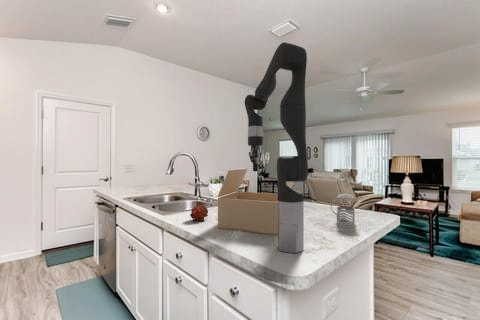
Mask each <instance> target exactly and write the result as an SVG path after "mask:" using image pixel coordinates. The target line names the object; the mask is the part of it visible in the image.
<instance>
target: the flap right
mask: <svg viewBox="0 0 480 320" xmlns="http://www.w3.org/2000/svg"><path fill="white" fill-rule="evenodd" d="M294 183H295V182H289V181H288V182H286V184H287V186H289V187H290V188H292V187H293V185H294ZM292 189H293V188H292ZM277 201H278V200H277Z"/></svg>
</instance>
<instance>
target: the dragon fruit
mask: <svg viewBox="0 0 480 320" xmlns="http://www.w3.org/2000/svg"><path fill="white" fill-rule="evenodd" d="M190 211H191V212H190V213H189V214H190V215H189V216H190V218H191V219H192V221H193V222H198V221H199V220H200V221H201V222H202V221H203V220H205V218H206V217H207V218H208V216H209V214H208V213H209V211H208V208H207V207H206V205H203V206H202V205H201V204H198V206H197V205H195V206H194V208H192V209H191V210H190Z"/></svg>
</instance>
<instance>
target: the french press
mask: <svg viewBox="0 0 480 320" xmlns="http://www.w3.org/2000/svg"><path fill="white" fill-rule="evenodd" d="M348 176H349V174H348V173H344V174H343V177H345V182H344V183H345V185H344V186H345V191H344V192H345V193H340V194H338V195H337V196H336V198H337V199H333V200H332V201H331V204H330V208H331V209H330V210H331V212H332V213H333V214H334V215H336V222H335V223H334V225H335V226H336V227H338V228H343V229H344V228H345V229H355V228H357V227H358V226H357V224H356V223H355V215H356V214H355V206H354V205H353V204H349V203H347V200H354V199H355V198H356V197H355V196H354V195H352V194H349V193H347V191H346V190H347V177H348ZM338 199H343V200H345V203H338V202H339V201H338ZM335 201H336V203H338V204H337V208H336V210H337V211H336V212H337V213H336V212H335V211H334V210H333V208H332V205H333V203H334V202H335Z"/></svg>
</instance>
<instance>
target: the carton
mask: <svg viewBox="0 0 480 320" xmlns="http://www.w3.org/2000/svg"><path fill="white" fill-rule="evenodd" d="M277 200H278V193H270V192H249V191H236V192H233V193H230V194H227V195H224V196H221V197H217V229H221V230H229V231H237V232H238V231H239V232H246V233H252V234H253V233H254V234H261V235H268V234H269V235H270V236H276V235H277V236H278V210H277V208H278V201H277Z"/></svg>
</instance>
